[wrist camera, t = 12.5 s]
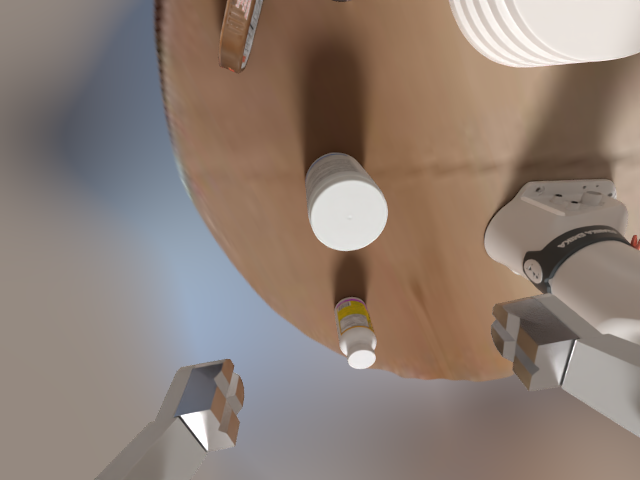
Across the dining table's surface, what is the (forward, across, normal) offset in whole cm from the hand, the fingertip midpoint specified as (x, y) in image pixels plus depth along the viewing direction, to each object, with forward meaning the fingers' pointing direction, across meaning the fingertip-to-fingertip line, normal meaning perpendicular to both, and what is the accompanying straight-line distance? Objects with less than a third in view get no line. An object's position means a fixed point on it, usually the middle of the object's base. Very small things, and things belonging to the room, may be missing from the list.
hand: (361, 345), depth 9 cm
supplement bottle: (+39, 0, +34) cm, 52 cm away
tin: (+39, +4, -17) cm, 43 cm away
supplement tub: (+39, -2, +7) cm, 40 cm away
